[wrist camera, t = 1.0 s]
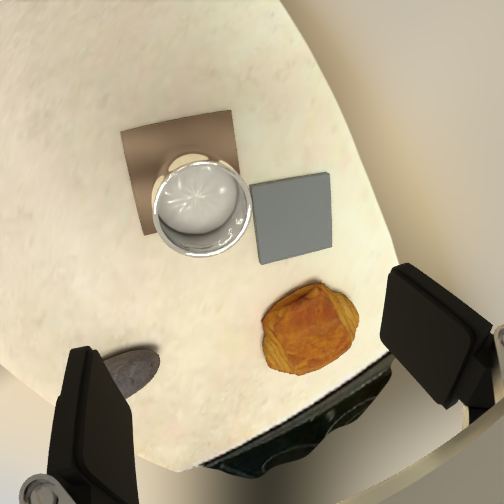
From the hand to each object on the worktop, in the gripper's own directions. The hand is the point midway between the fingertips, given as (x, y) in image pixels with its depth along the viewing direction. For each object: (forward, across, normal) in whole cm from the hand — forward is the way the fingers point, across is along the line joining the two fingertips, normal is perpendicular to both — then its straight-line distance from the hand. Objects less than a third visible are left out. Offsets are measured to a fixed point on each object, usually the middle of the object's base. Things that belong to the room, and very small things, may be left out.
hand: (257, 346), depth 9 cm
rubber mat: (+28, -12, +8) cm, 32 cm away
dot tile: (+28, 0, 0) cm, 28 cm away
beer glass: (+28, 0, 0) cm, 28 cm away
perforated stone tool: (+28, +15, +24) cm, 40 cm away
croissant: (+28, -14, +25) cm, 40 cm away
